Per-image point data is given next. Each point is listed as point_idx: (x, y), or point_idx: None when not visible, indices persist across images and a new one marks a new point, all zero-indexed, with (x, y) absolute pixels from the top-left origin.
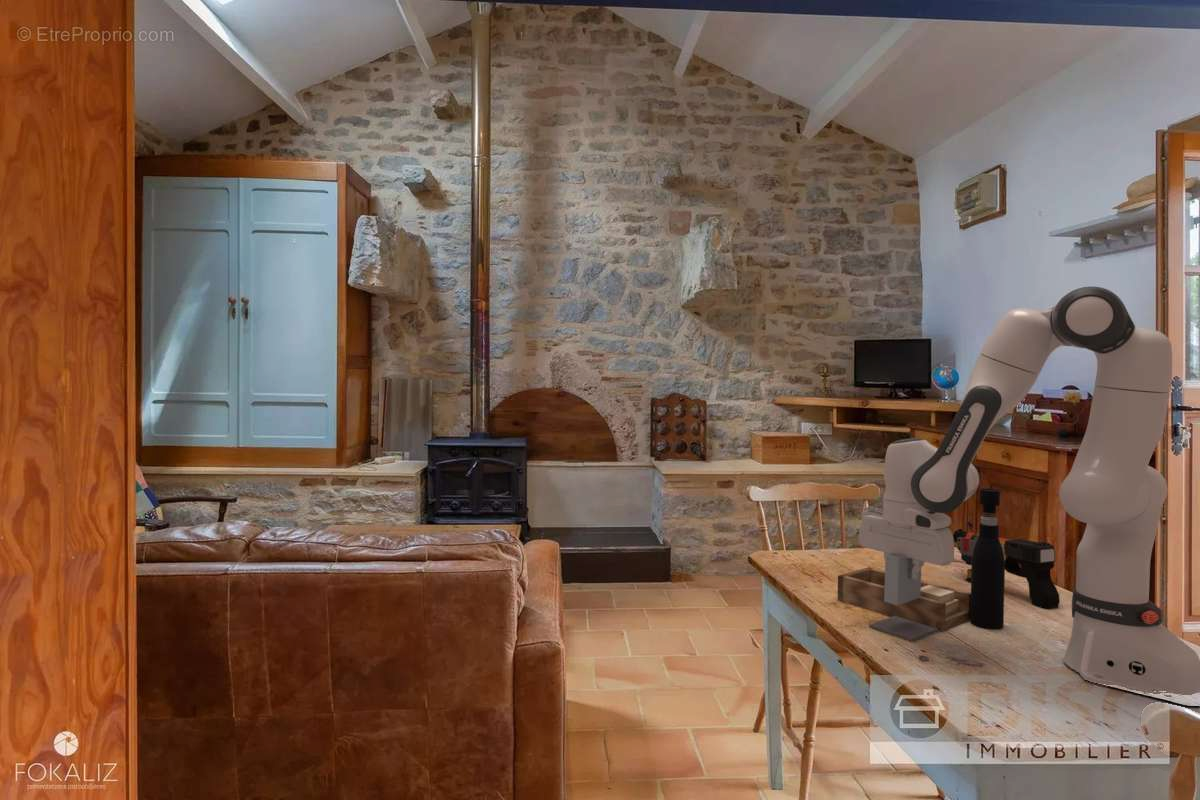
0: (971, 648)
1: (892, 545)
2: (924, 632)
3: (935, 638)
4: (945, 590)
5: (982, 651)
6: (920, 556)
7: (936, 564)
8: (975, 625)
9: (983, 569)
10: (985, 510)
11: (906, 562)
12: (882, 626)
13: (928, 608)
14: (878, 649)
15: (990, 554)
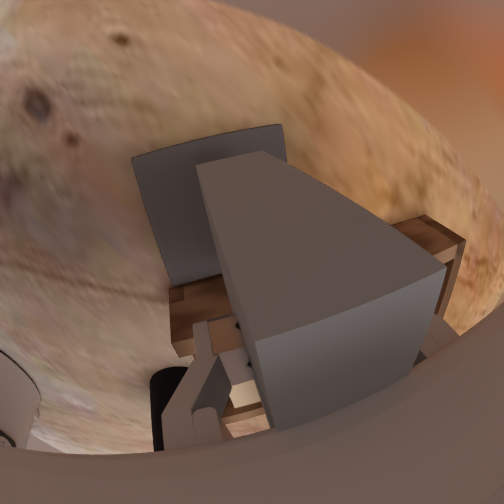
0: (60, 273)
1: (455, 427)
2: (161, 233)
3: (133, 241)
4: (251, 398)
5: (44, 281)
6: (121, 489)
7: (26, 449)
8: (177, 367)
9: None
10: None
11: (261, 387)
12: (252, 150)
13: (212, 313)
14: (133, 22)
15: None
